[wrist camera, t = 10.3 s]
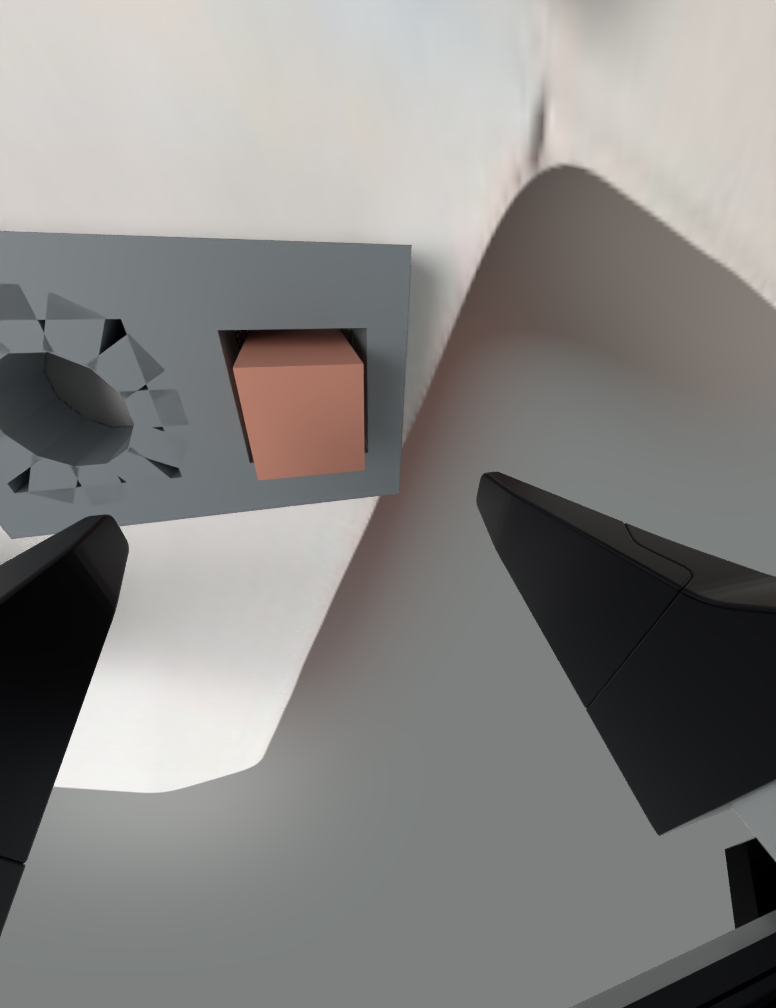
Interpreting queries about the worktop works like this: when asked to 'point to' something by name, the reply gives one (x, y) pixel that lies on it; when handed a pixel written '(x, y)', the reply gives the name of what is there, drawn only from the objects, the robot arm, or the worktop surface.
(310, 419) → the square peg
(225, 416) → the socket block
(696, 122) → the worktop surface
